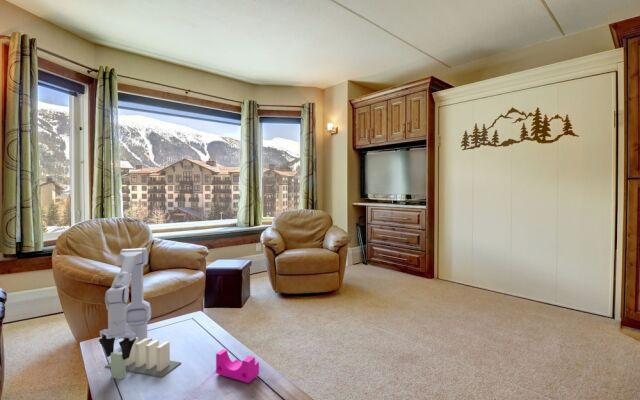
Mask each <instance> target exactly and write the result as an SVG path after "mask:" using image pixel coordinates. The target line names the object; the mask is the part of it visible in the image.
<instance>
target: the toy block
mask: <svg viewBox="0 0 640 400" xmlns="http://www.w3.org/2000/svg"><path fill="white" fill-rule="evenodd" d="M215 373H216V374H217V375H220V376H224V377H228V378H230V379H234V380H238V381H240V382H244V383H248V384H249V383H251V382H252V381H253V380H254V379H255V378H256V377H257V376H258V375H259V374H260V362H259V361H256V357H255V356H252V355H248V356H247V357H245V358H243V360H242V361H241V360H239V359H238V358H236V359H235V360H233V361H232V360H231V358H230V356H229V354H228V350H227V349H221V350H220V351H218V352H216V353H215Z"/></svg>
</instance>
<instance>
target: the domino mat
mask: <svg viewBox="0 0 640 400" xmlns="http://www.w3.org/2000/svg"><path fill="white" fill-rule="evenodd" d="M181 364H182V362H181V361H175V360H170V365H168V366H167V367H166V368H164V369H163V370H161V371H157V365H155V366H154V367H152V368H151V369H146V363H145V364H144V365H142V366H141V367H139V368H138V367H135V362H134V363H132V364H131V365H129V366H127V365H125V370H126V372H130V373H135V374H141V375H147V376H152V377H157V378H164V377H165V376H167V375H168V374H169V373H170V372H172V371H173V370H174V369H177V367H179V366H180V365H181ZM104 368H108V369H111V362H109V363H108V364H106V365H105V366H104Z"/></svg>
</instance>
